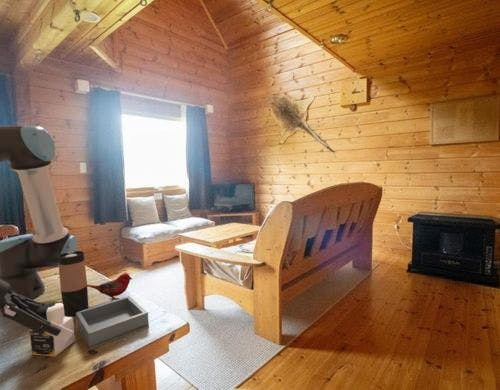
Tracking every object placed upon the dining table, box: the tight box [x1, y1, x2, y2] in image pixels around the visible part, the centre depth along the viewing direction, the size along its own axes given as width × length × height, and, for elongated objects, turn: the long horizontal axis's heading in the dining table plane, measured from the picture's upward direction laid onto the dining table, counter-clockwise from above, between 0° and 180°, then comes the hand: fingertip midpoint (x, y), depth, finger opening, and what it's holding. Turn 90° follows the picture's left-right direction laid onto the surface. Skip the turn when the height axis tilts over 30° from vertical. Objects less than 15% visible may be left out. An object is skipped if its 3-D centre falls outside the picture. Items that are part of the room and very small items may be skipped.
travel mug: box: [58, 250, 89, 318], centre depth 100 cm, size 8×8×20 cm
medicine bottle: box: [28, 301, 76, 357], centre depth 80 cm, size 7×7×12 cm
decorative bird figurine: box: [87, 272, 133, 301], centre depth 109 cm, size 3×18×10 cm, turn 89°
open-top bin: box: [75, 295, 150, 350], centre depth 91 cm, size 16×16×4 cm
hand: (66, 328), depth 83 cm, fingers closed on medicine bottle, 10 cm apart
